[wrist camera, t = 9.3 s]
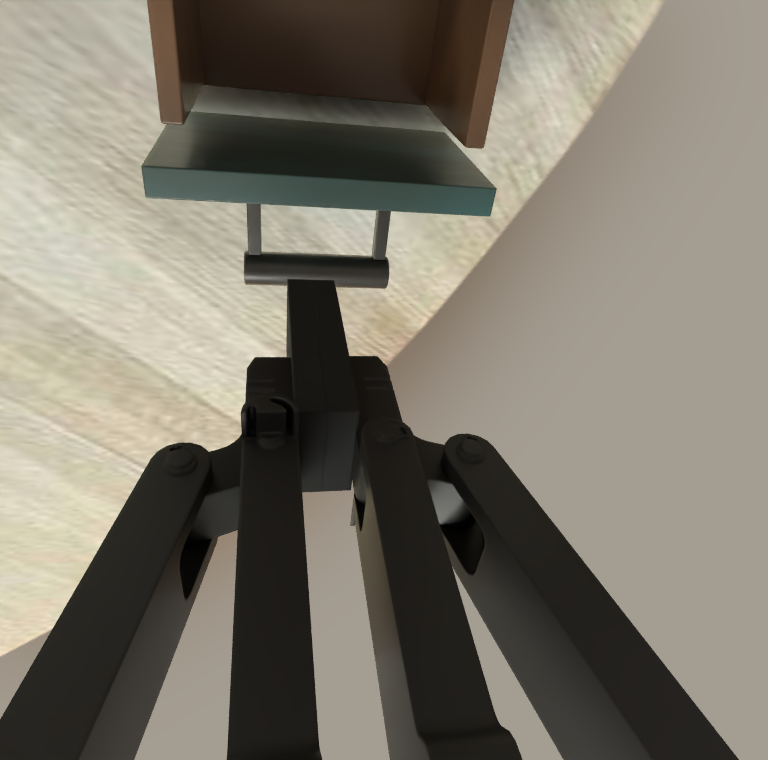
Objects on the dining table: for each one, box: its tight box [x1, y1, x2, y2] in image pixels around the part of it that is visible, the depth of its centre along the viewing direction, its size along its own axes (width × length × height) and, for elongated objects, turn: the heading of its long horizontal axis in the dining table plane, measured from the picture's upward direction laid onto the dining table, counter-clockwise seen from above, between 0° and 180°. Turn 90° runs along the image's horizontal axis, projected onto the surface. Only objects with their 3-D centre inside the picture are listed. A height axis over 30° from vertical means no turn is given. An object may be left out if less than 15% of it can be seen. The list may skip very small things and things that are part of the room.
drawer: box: [142, 0, 514, 289], centre depth 23 cm, size 22×14×9 cm, turn 174°
